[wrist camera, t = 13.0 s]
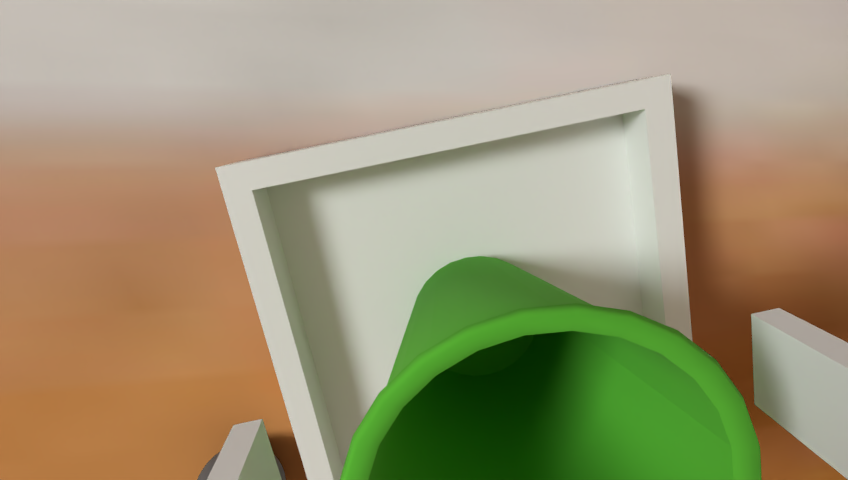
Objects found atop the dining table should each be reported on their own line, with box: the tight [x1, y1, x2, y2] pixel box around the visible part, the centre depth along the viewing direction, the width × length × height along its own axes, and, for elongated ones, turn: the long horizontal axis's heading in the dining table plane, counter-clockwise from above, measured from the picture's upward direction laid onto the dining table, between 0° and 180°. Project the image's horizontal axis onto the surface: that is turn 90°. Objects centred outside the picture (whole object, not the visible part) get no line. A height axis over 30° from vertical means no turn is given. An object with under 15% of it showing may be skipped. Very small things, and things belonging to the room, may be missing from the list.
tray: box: [215, 74, 692, 480], centre depth 21 cm, size 16×16×2 cm
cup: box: [340, 256, 761, 480], centre depth 16 cm, size 9×9×11 cm
